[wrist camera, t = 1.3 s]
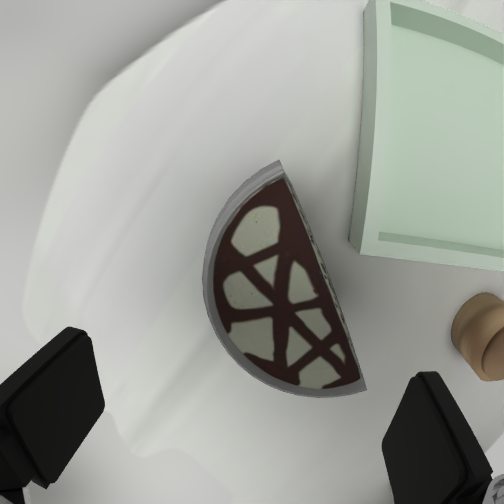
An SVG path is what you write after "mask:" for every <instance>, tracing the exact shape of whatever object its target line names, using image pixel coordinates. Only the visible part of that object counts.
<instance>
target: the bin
mask: <svg viewBox="0 0 504 504" xmlns="http://www.w3.org/2000/svg"><path fill="white" fill-rule="evenodd" d="M363 15H364V69H363V97H362V116H361V131H360V144H359V156H358V166H357V176H356V186H355V194H354V203H353V211H352V218H351V226H350V233H349V239H348V240H349V242H350V243H351V244H352V245H353V247H354V248H355V249H356V250H357V251H358V253H359V254H361V255H369V256H378V257H386V258H395V259H403V260H412V261H420V262H428V263H437V264H445V265H453V266H461V267H469V268H477V269H485V270H493V271H501V272H504V34H502V33H500V32H498V31H496V30H494V29H492V28H490V27H488V26H486V25H484V24H482V23H479V22H477V21H475V20H473V19H470V18H468V17H466V16H463V15H461V14H458V13H456V12H453V11H451V10H448V9H445V8H443V7H440V6H437V5H434V4H431V3H428V2H425V1H422V0H369V1H368V3H367V5H366V7H365V10H364V12H363Z"/></svg>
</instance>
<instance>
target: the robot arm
mask: <svg viewBox="0 0 504 504" xmlns="http://www.w3.org/2000/svg"><path fill="white" fill-rule="evenodd" d="M104 407H105V401H104V397H103V393H102V389H101V385H100V380H99V376H98V371H97V366H96V361H95V356H94V351H93V345H92V340H91V338H90V337H89V336H88V335H87V333H86V331H84V330H81V329H77V328H73V327H67V328H65V329H64V330H63V331H61V332H60V333H59V334H58V335H57V336H55V337H54V338H53V339H52V340H51V341H50V342H48V343H47V344H46V345H45V346H44V347H42V348H41V349H40V350H39V351H38V352H37V353H35V354H34V355H33V356H32V357H31V358H30V359H29V360H27V361H26V362H25V363H24V364H23V365H22V366H21V367H20V368H18V369H17V370H16V371H15V372H14V373H13V374H12V375H10V376H9V377H8V378H7V379H6V380H5V381H4V382H3V383H2V384H1V385H0V504H31V499H30V494H29V489H28V483H29V482H30V481H31V480H32V481H33V482H34V483H36V484H38V485H39V486H41V487H43V488H45V489H47V488H48V486H49V484H50V483H55V482H56V481H57V479H58V478H59V476H60V475H61V473H62V472H63V470H64V469H65V467H66V466H67V464H68V462H69V461H70V460H71V458H72V457H73V455H74V454H75V452H76V451H77V449H78V448H79V446H80V445H81V443H82V442H83V440H84V439H85V437H86V436H87V435H88V433H89V431H90V430H91V429H92V427H93V426H94V424H95V423H96V421H97V420H98V418H99V417H100V416H101V414H102V413H103V411H104ZM382 452H383V456H384V460H385V464H386V468H387V472H388V476H389V480H390V485H391V486H390V492H391V496H392V498H393V499H394V502H395V504H504V474H502V475H500V476H497V477H495V478H494V479H492V477H491V474H492V472H493V470H492V468H491V466H490V464H489V462H488V460H487V458H486V456H485V454H484V452H483V450H482V448H481V446H480V445H479V443H478V441H477V439H476V437H475V435H474V433H473V431H472V430H471V428H470V426H469V424H468V422H467V421H466V419H465V417H464V415H463V413H462V412H461V410H460V408H459V406H458V405H457V403H456V401H455V400H454V398H453V396H452V395H451V393H450V391H449V389H448V388H447V386H446V385H445V383H444V381H443V380H442V378H441V376H440V375H439V373H438V372H436V371H431V372H418V373H417V374H416V376H415V377H412V378H411V379H410V381H409V383H408V386H407V388H406V391H405V393H404V395H403V398H402V400H401V402H400V404H399V407H398V409H397V411H396V413H395V415H394V418H393V420H392V422H391V424H390V426H389V428H388V430H387V432H386V434H385V436H384V438H383V441H382Z"/></svg>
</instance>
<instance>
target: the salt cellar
mask: <svg viewBox="0 0 504 504" xmlns="http://www.w3.org/2000/svg"><path fill="white" fill-rule="evenodd" d="M451 338H452V342H453V344H454V346H455V347H456V349H457V350H458V351H459V352H460V354H461V355H462V356H463V357H464V359H465V360H466V361H467V363H468V364H469V365H470V366H471V368H472V369H473V370H474V372H475V373H476V374H477V376H478V377H479V378H480V379H481V380H484V381H498V380H502V379H504V302H503V301H502V300H501V299H499V298H498V297H496V296H495V295H493V294H491V293H480V294H478V295H475V296H474V297H472V298H471V299H469V300H468V301H467V302H466V303H465V304H464V305H463V306H462V307H461V309H460V310H459V311H458V313H457V315H456V317H455V319H454V322H453V325H452V330H451Z"/></svg>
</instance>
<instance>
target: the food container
mask: <svg viewBox="0 0 504 504" xmlns="http://www.w3.org/2000/svg"><path fill="white" fill-rule="evenodd" d="M202 283H203V296H204V302H205V306H206V310H207V314H208V317H209V319H210V322H211V324H212V326H213V328H214V331H215V333H216V334H217V337H218V339H219V340H220V342H221V343H222V345H223V346H224V348H225V349H226V351H227V352H228V354H229V355H230V356H231V357H232V358H233V359H234V360H235V361H236V362H237V364H238V365H239V366H241V367H242V368H243V369H244V370H245V371H247V372H248V373H249V374H250V375H252V376H253V377H255V378H256V379H258V380H260V381H261V382H263V383H265V384H267V385H269V386H271V387H273V388H276V389H278V390H281V391H283V392H287V393H291V394H295V395H299V396H306V397H316V398H325V397H339V396H345V395H351V394H355V393H358V392H362V391H365V390H367V389H366V385H365V381H364V378H363V375H362V372H361V369H360V366H359V362H358V359H357V356H356V353H355V350H354V347H353V343H352V340H351V337H350V334H349V331H348V328H347V325H346V322H345V319H344V316H343V313H342V310H341V308H340V305H339V302H338V299H337V296H336V293H335V291H334V288H333V285H332V283H331V280H330V277H329V275H328V272H327V270H326V267H325V264H324V262H323V259H322V257H321V254H320V252H319V249H318V247H317V244H316V242H315V239H314V237H313V234H312V232H311V229H310V227H309V224H308V222H307V219H306V217H305V215H304V212H303V210H302V207H301V205H300V203H299V200H298V198H297V196H296V193H295V191H294V189H293V186H292V184H291V182H290V180H289V179H288V177H287V175H286V174H285V172H284V170H283V168H282V165H281V163H280V160H278V161H276V162H274V163H272V164H270V165H268V166H266V167H265V168H263V169H261V170H260V171H258V172H257V173H256V174H254V175H253V176H252V177H250V178H249V179H248V180H247V181H245V182H244V183H243V184H242V185H241V186H240V187H239V188H238V189H237V191H236V192H235V193H234V194H233V195H232V196H231V197H230V198H229V200H228V201H227V203H226V204H225V206H224V207H223V209H222V210H221V212H220V213H219V215H218V217H217V219H216V221H215V224H214V226H213V228H212V230H211V232H210V236H209V240H208V244H207V247H206V251H205V257H204V265H203V276H202Z"/></svg>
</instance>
